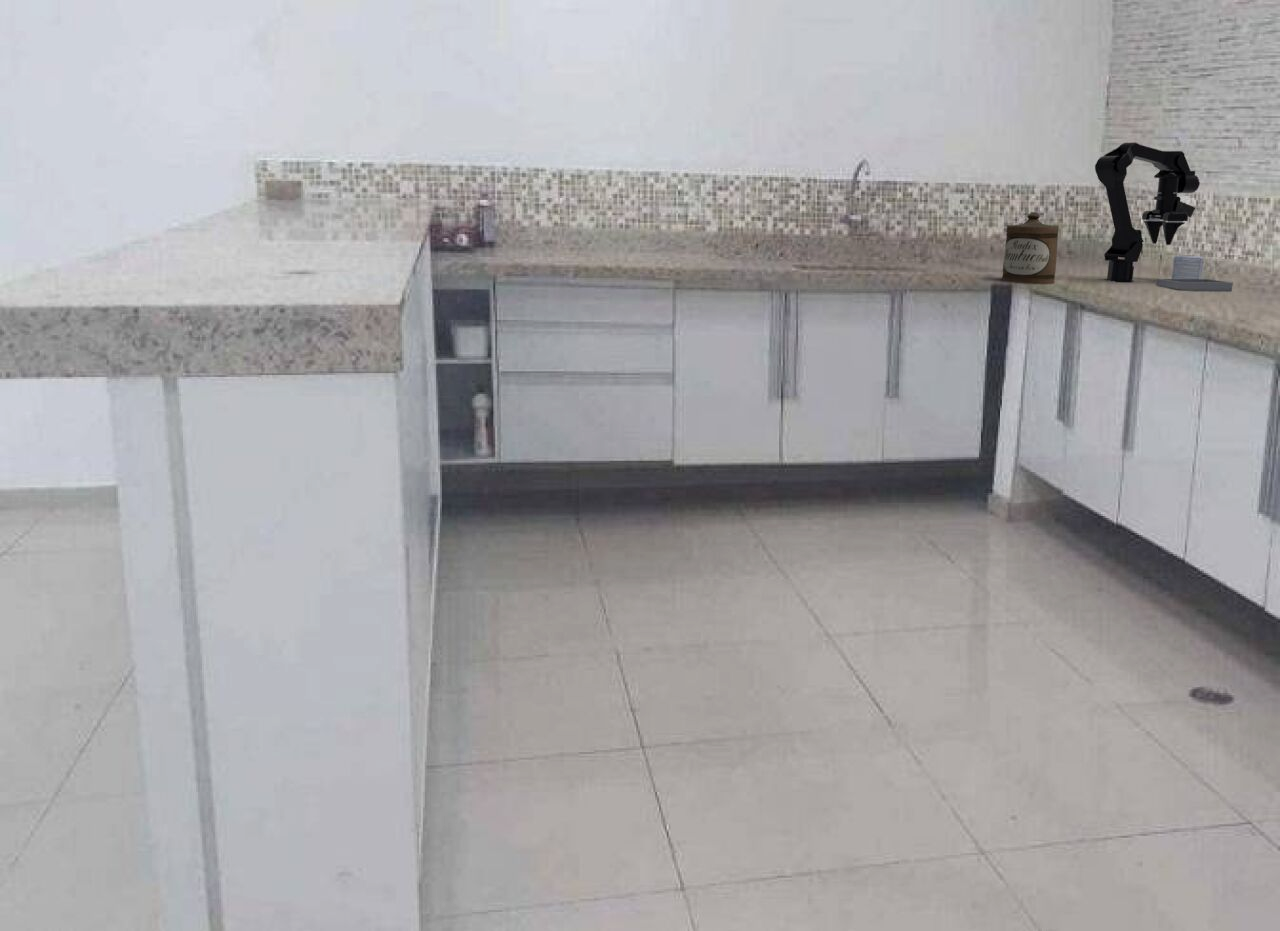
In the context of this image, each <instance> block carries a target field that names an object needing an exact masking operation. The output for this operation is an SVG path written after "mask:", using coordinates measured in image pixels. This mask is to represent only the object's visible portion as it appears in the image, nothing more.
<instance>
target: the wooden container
mask: <svg viewBox="0 0 1280 931" xmlns="http://www.w3.org/2000/svg"><path fill="white" fill-rule="evenodd" d="M1026 217H1027V220H1026V221H1025V222H1024V223H1021V224H1011V225H1010V224H1009V225H1007V226H1006V233H1005V234H1006V235H1005V236H1006V240H1005V249H1004V256H1003V264H1002V265H1003V266H1002V278H1001V280H1002V281H1006V282H1012V283H1013V282H1014V283H1019V284H1020V283H1021V284H1022V283H1023V284H1032V285H1033V284H1034V285H1035V284H1036V285H1053V284H1055V280H1056V278H1055V276H1056V268H1057V260H1058V259H1057V257H1058V255H1057V254H1058V242H1059V240H1058V239H1059V231H1060V229H1059V226H1058V225H1051V224H1044V223H1043V222H1041V221H1040V217H1041V215H1040V213H1038V212H1036V211H1031V212H1030V213H1028V214H1027V215H1026Z"/></svg>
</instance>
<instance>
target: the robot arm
mask: <svg viewBox="0 0 1280 931" xmlns="http://www.w3.org/2000/svg"><path fill="white" fill-rule="evenodd" d="M1134 160H1139V161H1142V162H1145V163H1149V164H1152V166H1153V167H1154V168H1155V169H1158V170H1159V172H1157V173H1156V174H1154V176H1153V177H1154V178H1155V179H1158V184H1157V193H1156V196H1154V198H1153V201H1155V209H1152V210H1145V211H1144V212H1143V213H1141V215H1142V216H1141V220H1142V221H1143V223H1144V224H1145V227H1146V230H1147V232H1148V234H1149V237H1150V239H1151V242H1152V244H1157V242H1158V239H1159V235H1160V230H1161V227H1162V230H1163V236H1164V242H1165V244H1166V246H1170V245H1171V243H1172V241H1173V239H1174V238H1175V234H1176V233H1177V231H1178V229H1179V228H1180V227H1181V226H1183V225H1184V224H1186V222H1188V221H1189V218H1192V216H1193V214H1194V212H1195V210H1196V207H1195V206H1192V205H1190V204H1187V203H1186V202H1183V201H1181V196H1178V194H1193V193H1195V192H1196V191H1198V189H1199V187H1200V179H1199V177H1198V175H1196V170H1191V169H1190V166H1189V163H1188V161H1187V160H1188V159H1187V158H1186V155H1185V153H1184V152H1183V151H1180V150H1161V149H1157V148H1153V147H1151V146H1147V145H1142V144H1139V143H1138V142H1132V141H1131V142H1123V143H1121V144H1120V145H1119V146H1117V148H1115V149H1113V150H1110V151H1108V152H1107V153H1105V154H1104V155H1102V156H1100V157H1099V158H1098V159H1097V161H1096V163H1095V164H1094V169H1095V170H1094V171H1095V173H1096V177H1097V178H1098V181H1099V182H1100V183H1101V184H1102V185H1103V186H1104V187H1105V191H1106V195H1107V200H1108V203H1109V209H1110V213H1111V214H1110V215H1111V218H1112V219H1111V220H1112V223H1113V226H1114V227H1113V228H1114V232H1113V234H1112V237H1111V245H1110V247H1109V248H1108V249H1107V250H1106V252H1105V253H1104V254H1103V255H1104V261H1105V262H1106V261H1107V262H1108V265H1107V266H1108V268H1107V275H1106V276H1107V277H1106V278H1105V279H1106V280H1105V281H1108V280H1110V281H1109V282H1113V281H1115V282H1117V283H1119V282H1121V283H1122V282H1123V283H1124V282H1125V283H1127V282H1128V283H1131V282H1134V279H1133V278H1134V270H1135V267H1134V265H1133V264H1134V263H1137V262H1138V261H1139V258H1140V255H1141V254H1142V250H1143V248H1144V244H1143V243H1144V242H1145V241H1144V239H1143V234H1142V230H1141V229H1135V227H1133V224H1132V219H1131V214H1130V209H1129V205H1128V199H1127V195H1126V190H1125V185H1124V181H1125V179H1126V177H1127V174H1128V172H1127V169H1128V167H1129V166H1130V165H1132V164H1133V161H1134ZM1115 282H1114V283H1115Z"/></svg>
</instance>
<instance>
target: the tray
mask: <svg viewBox="0 0 1280 931" xmlns="http://www.w3.org/2000/svg"><path fill="white" fill-rule="evenodd" d="M1155 282H1156V283H1155V286H1156V285H1157V286H1158V287H1161V288H1166V289H1170V290H1175V291H1179V292H1180V291H1183V292H1185V291H1187V292H1232V291H1233V285H1234V284H1233V283H1234V282H1232V281H1225V280H1216V279H1210V278H1201V279H1172V278H1156V281H1155Z"/></svg>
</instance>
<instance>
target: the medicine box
mask: <svg viewBox="0 0 1280 931" xmlns="http://www.w3.org/2000/svg"><path fill="white" fill-rule="evenodd" d="M1173 258H1174V259H1173V266H1172V273H1171V279H1203V277H1202V276H1203V267H1204V261H1205V257H1204V256H1191V255H1190V256H1189V255H1186V256H1185V255H1177V256H1174V257H1173Z"/></svg>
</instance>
